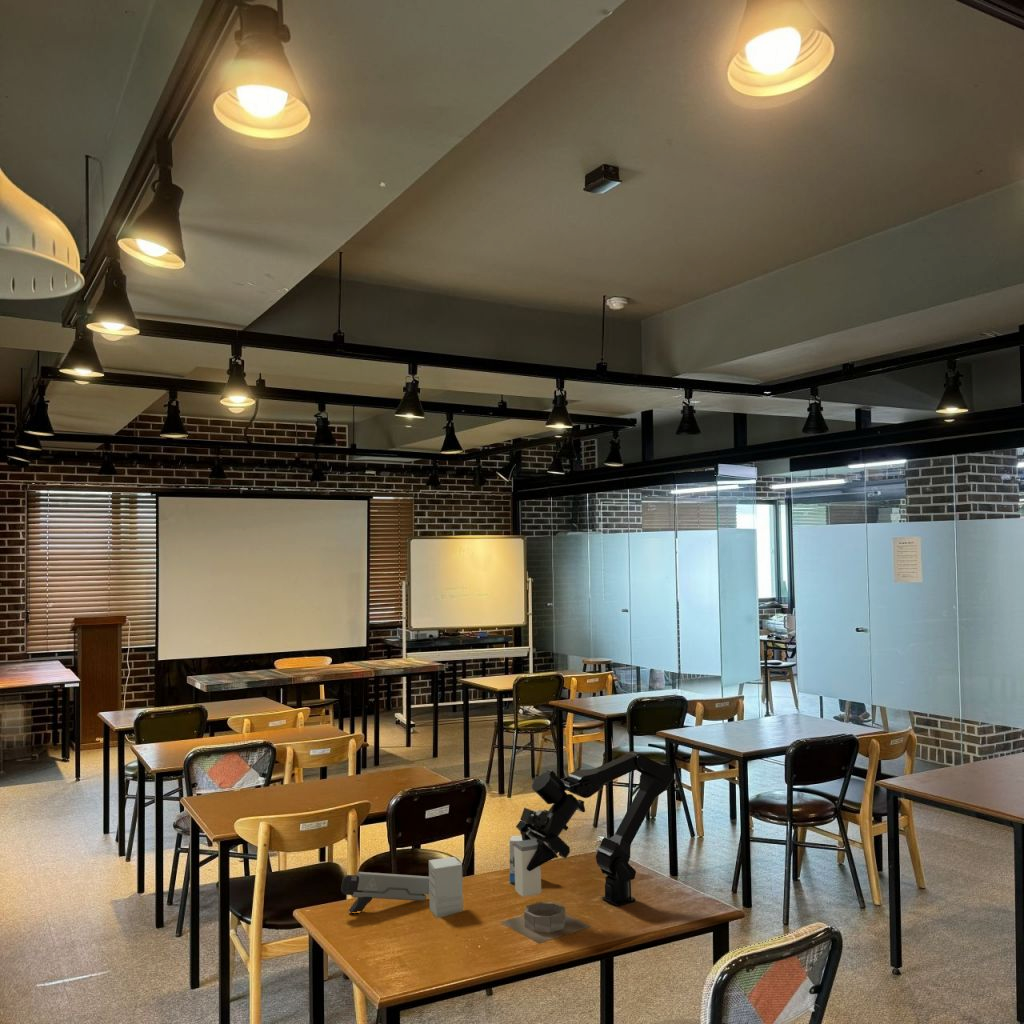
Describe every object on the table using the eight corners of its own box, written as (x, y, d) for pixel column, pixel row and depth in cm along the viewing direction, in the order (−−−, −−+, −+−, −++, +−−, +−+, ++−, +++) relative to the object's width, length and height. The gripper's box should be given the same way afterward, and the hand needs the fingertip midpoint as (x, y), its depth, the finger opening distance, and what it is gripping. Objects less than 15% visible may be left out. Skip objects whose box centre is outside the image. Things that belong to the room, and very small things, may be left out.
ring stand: (550, 911, 226) (550, 893, 226) (591, 931, 213) (591, 911, 213) (499, 927, 217) (499, 907, 217) (539, 948, 204) (538, 927, 204)
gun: (334, 910, 227) (343, 870, 229) (423, 914, 238) (431, 876, 239) (337, 913, 225) (345, 873, 226) (427, 918, 235) (434, 879, 237)
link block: (533, 887, 224) (532, 839, 225) (541, 893, 219) (540, 844, 220) (515, 890, 222) (514, 841, 223) (522, 897, 217) (521, 847, 218)
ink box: (509, 883, 248) (508, 840, 249) (511, 877, 253) (510, 835, 254) (539, 884, 247) (538, 841, 248) (541, 877, 252) (540, 835, 253)
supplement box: (456, 905, 232) (455, 856, 233) (463, 915, 225) (462, 864, 226) (428, 909, 230) (428, 859, 231) (435, 919, 223) (434, 868, 224)
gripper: (521, 788, 232) (485, 838, 226) (558, 803, 216) (519, 857, 210) (548, 814, 236) (512, 864, 230) (586, 831, 219) (549, 885, 213)
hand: (522, 866), depth 221 cm, fingers closed on link block, 5 cm apart
